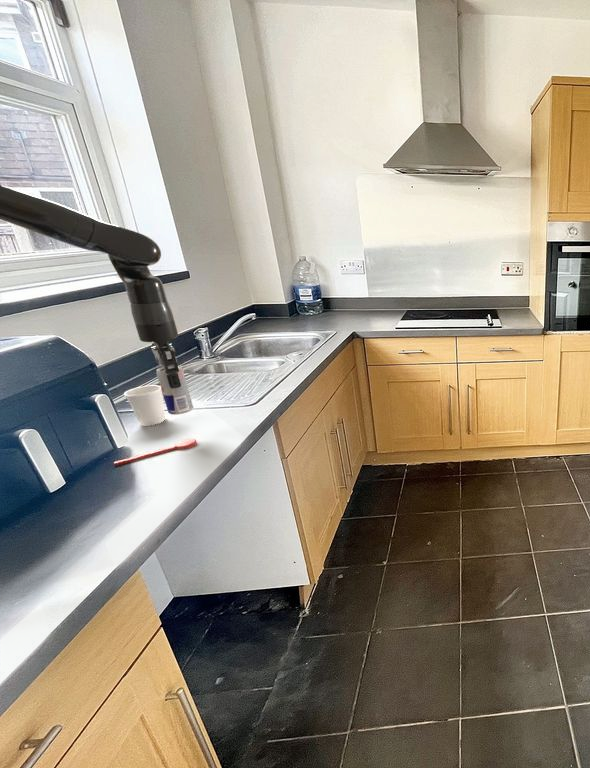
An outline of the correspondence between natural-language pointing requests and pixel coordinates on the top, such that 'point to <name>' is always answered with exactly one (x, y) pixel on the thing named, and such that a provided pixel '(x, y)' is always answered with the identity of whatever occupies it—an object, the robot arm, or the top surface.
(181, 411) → the energy drink
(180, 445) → the spoon
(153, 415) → the dixie cup
